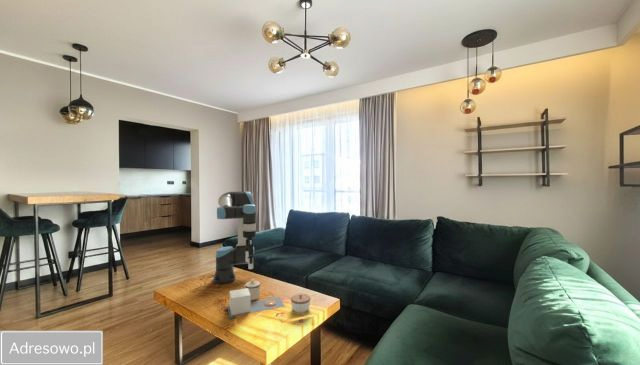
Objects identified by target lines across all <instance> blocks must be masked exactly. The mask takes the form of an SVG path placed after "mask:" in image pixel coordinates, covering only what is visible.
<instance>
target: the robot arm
mask: <svg viewBox="0 0 640 365" xmlns="http://www.w3.org/2000/svg"><path fill="white" fill-rule="evenodd" d="M217 203H218V205H219V206H218V207H216V219H217V220H231V219H232V220H233V219H237V244H236V245H235V247H233V246H231V245H230V246H229V245H228V246H224V247H220V248H218V249H217V250H216V252H215V271H214V275H213V277H212V278H213V279H212V281H213V283H214V284H216V285H225V284H229V283H232V282H234V281H235V280H236V274H235V270H234V266H235V265H245V264H246V265H247V266H248V268H247V269H248V270H252V269H254V258H255V247H254V240H253V238H255V237H256V236H257V234H256V229H257V226H256V225H257V224H256V223H257V221H256V220H257V219H256V218H257V217H256V216H257V213H256V212H257V209H256V208H257V207H256V204H254V199H253V195H252V192H250V191H245V190H244V191H227V192H224V193H223V194H221V195H220V196H219V198H218V202H217Z"/></svg>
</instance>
